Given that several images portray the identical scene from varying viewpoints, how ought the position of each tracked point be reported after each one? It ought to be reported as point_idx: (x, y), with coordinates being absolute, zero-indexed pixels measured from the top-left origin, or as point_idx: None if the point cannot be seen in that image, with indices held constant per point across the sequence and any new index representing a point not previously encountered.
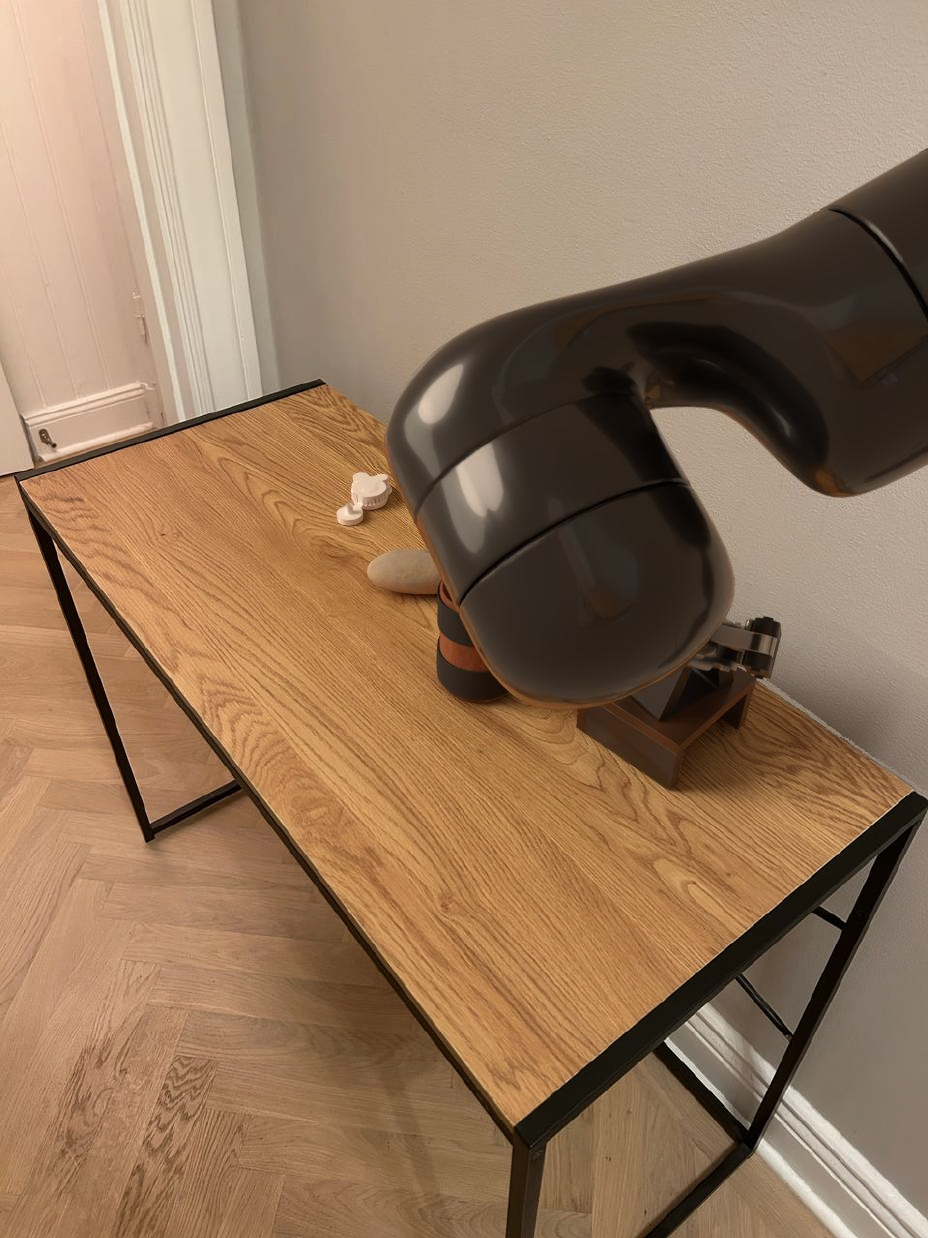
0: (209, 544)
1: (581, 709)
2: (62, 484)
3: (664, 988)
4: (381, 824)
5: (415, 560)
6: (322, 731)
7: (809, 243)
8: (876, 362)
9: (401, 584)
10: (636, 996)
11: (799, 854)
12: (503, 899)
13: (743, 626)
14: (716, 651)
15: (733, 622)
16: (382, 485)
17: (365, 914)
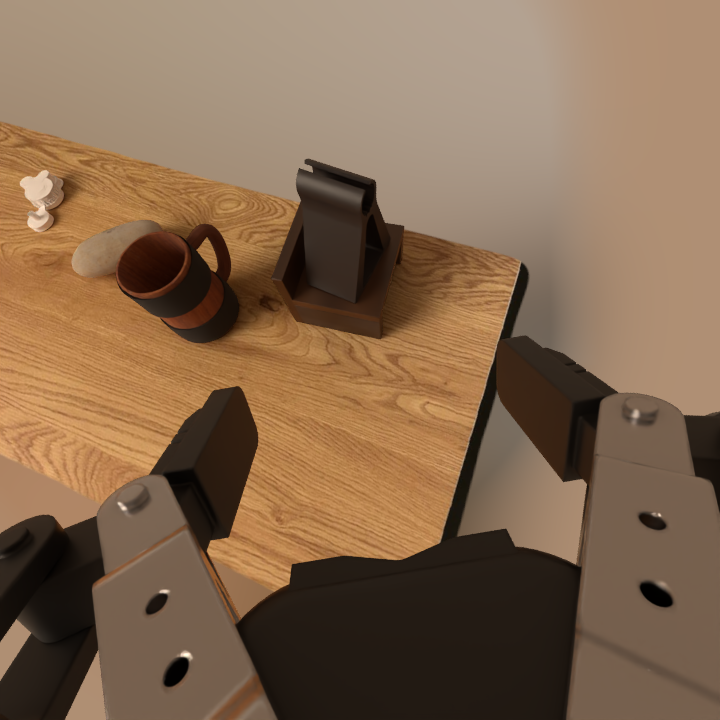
0: None
1: (293, 312)
2: None
3: (447, 495)
4: None
5: (103, 245)
6: (119, 425)
7: None
8: None
9: (108, 268)
10: (433, 512)
11: (480, 342)
12: (315, 490)
13: (683, 421)
14: (572, 458)
15: (689, 453)
16: (48, 182)
17: (228, 560)
